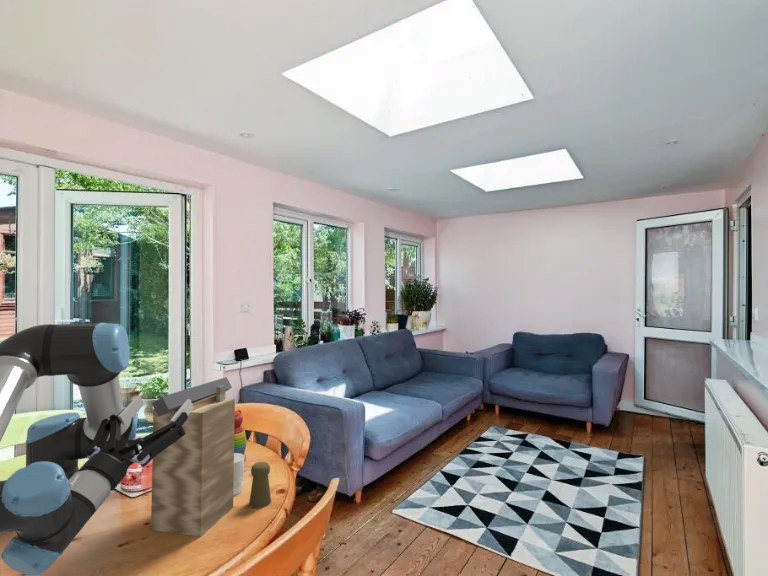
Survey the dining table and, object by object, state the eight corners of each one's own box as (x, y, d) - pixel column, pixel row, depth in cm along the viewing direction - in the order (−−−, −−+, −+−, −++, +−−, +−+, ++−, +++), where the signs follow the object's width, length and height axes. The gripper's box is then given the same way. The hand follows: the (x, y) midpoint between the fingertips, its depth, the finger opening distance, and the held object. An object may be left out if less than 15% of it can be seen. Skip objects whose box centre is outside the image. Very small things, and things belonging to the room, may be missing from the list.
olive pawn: (259, 510, 110) (259, 469, 111) (244, 504, 114) (245, 464, 114) (275, 500, 116) (276, 462, 116) (261, 495, 119) (261, 457, 119)
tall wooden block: (151, 529, 101) (153, 393, 102) (188, 501, 115) (190, 381, 115) (200, 536, 98) (203, 396, 99) (233, 507, 112) (235, 384, 113)
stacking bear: (236, 453, 150) (237, 405, 151) (253, 459, 144) (254, 409, 145) (209, 462, 141) (210, 411, 142) (226, 470, 135) (227, 417, 136)
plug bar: (158, 416, 95) (151, 403, 96) (223, 393, 119) (217, 382, 119) (168, 409, 95) (162, 396, 95) (232, 387, 118) (226, 377, 118)
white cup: (234, 499, 116) (235, 464, 116) (210, 496, 118) (210, 462, 118) (249, 486, 124) (249, 454, 124) (225, 484, 126) (226, 451, 126)
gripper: (51, 487, 82) (127, 409, 100) (158, 500, 77) (217, 416, 95) (33, 462, 78) (114, 387, 97) (143, 474, 74) (207, 392, 92)
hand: (165, 401), depth 96 cm, fingers open, 13 cm apart
